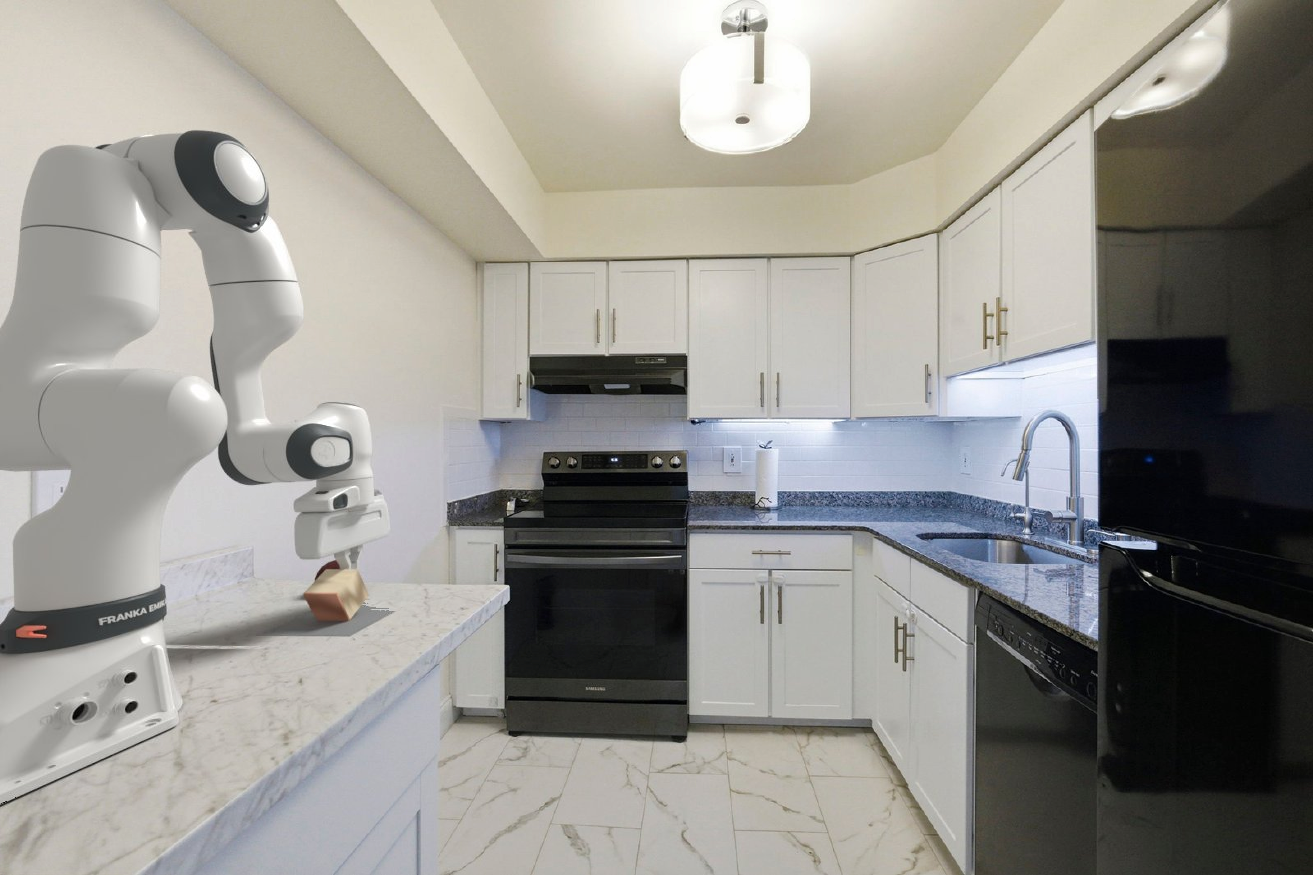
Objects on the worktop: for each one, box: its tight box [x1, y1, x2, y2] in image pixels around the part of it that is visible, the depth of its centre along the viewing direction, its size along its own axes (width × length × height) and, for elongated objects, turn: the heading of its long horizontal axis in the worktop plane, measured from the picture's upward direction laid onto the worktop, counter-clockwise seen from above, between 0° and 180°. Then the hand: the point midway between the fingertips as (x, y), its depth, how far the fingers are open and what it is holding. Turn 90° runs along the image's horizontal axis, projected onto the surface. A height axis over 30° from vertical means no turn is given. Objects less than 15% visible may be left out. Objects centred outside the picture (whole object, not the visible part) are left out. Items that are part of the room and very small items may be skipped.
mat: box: [255, 602, 395, 637], centre depth 94 cm, size 19×16×1 cm
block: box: [302, 569, 370, 621], centre depth 93 cm, size 6×6×6 cm
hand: (349, 573), depth 96 cm, fingers closed
